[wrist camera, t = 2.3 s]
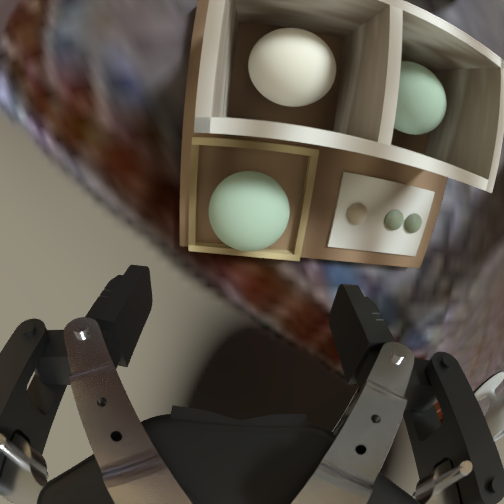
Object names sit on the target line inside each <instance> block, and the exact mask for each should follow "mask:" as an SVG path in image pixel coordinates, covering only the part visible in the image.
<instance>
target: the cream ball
mask: <svg viewBox="0 0 504 504" xmlns="http://www.w3.org/2000/svg"><path fill="white" fill-rule="evenodd" d="M248 70H249V75H250V78H251V80H252V82H253V84H254V86H255V87H256V89H257V90H258V91H259V92H260V93H261V94H262V95H263V96H264V97H266V98H267V99H269V100H270V101H272V102H274V103H277V104H280V105H284V106H290V107H300V106H306V105H309V104H312V103H314V102H316V101H318V100H319V99H321V98H322V97H323V96H325V95H326V94H327V93H328V91H329V90H330V89H331V87H332V85H333V83H334V80H335V76H336V62H335V58H334V56H333V53H332V51H331V49H330V48H329V47H328V45H327V44H326V43H325V42H324V41H323V40H322V39H321V38H320V37H318V36H317V35H315V34H313V33H311V32H309V31H306V30H303V29H299V28H281V29H277V30H274V31H271V32H269V33H268V34H266V35H264V36H263V37H262V38H261V39H259V40H258V41H257V43H256V44H255V45H254V47H253V49H252V50H251V53H250V56H249V61H248Z"/></svg>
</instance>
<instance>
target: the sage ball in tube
mask: <svg viewBox="0 0 504 504" xmlns="http://www.w3.org/2000/svg"><path fill="white" fill-rule="evenodd" d="M446 108H447V100H446V94H445V91H444V88H443V86H442V84H441V83H440V81H439V80H438V78H437V77H436V76H435V75H434V74H433V73H432V72H431V71H430V70H429V69H427V68H426V67H424V66H422V65H420V64H418V63H415V62H410V61H401V69H400V81H399V91H398V100H397V108H396V115H395V122H394V128H395V129H397V130H399V131H401V132H404V133H407V134H415V135H418V134H424V133H428V132H430V131H432V130H433V129H435V128H436V127H437V126H438V125H439V124H440V123H441V121H442V120H443V118H444V116H445V113H446Z"/></svg>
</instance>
